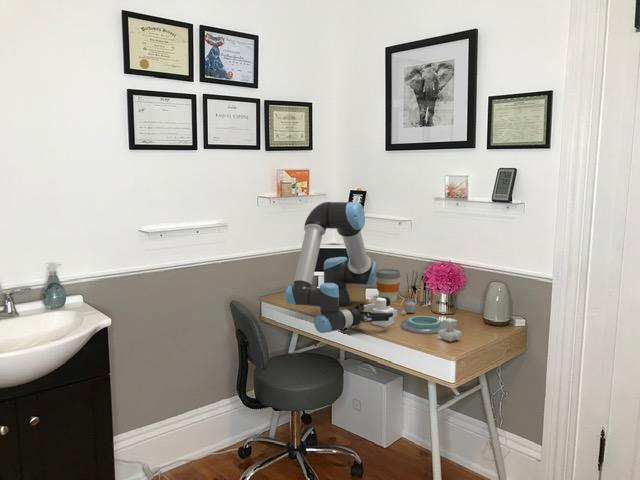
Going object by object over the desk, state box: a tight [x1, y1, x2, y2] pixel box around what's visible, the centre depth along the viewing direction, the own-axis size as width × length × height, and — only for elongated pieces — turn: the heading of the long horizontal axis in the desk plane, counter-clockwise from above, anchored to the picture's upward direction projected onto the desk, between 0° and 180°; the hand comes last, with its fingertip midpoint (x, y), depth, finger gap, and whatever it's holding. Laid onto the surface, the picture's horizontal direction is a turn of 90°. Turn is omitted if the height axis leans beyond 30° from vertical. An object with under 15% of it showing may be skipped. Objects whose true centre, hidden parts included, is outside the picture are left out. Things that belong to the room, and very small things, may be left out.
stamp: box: [437, 317, 463, 342], centre depth 215 cm, size 9×7×8 cm
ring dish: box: [400, 315, 447, 335], centre depth 232 cm, size 20×20×3 cm
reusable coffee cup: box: [375, 268, 401, 303], centre depth 279 cm, size 13×13×15 cm
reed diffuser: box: [400, 270, 419, 316], centre depth 252 cm, size 10×7×20 cm
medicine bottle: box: [371, 296, 395, 328], centre depth 236 cm, size 7×7×12 cm
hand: (385, 309), depth 237 cm, fingers open, 13 cm apart
